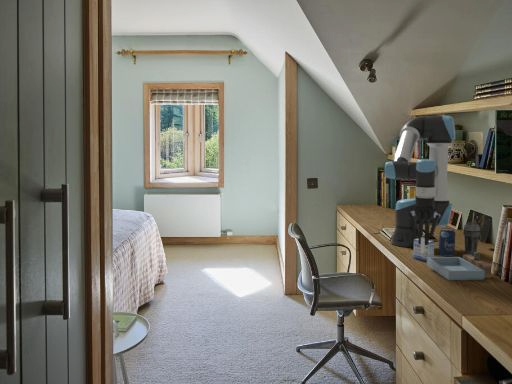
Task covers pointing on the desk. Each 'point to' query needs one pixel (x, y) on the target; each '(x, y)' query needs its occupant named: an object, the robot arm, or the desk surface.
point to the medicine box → (423, 256)
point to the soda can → (447, 242)
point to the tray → (455, 268)
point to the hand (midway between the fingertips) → (423, 251)
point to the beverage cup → (471, 237)
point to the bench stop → (479, 263)
